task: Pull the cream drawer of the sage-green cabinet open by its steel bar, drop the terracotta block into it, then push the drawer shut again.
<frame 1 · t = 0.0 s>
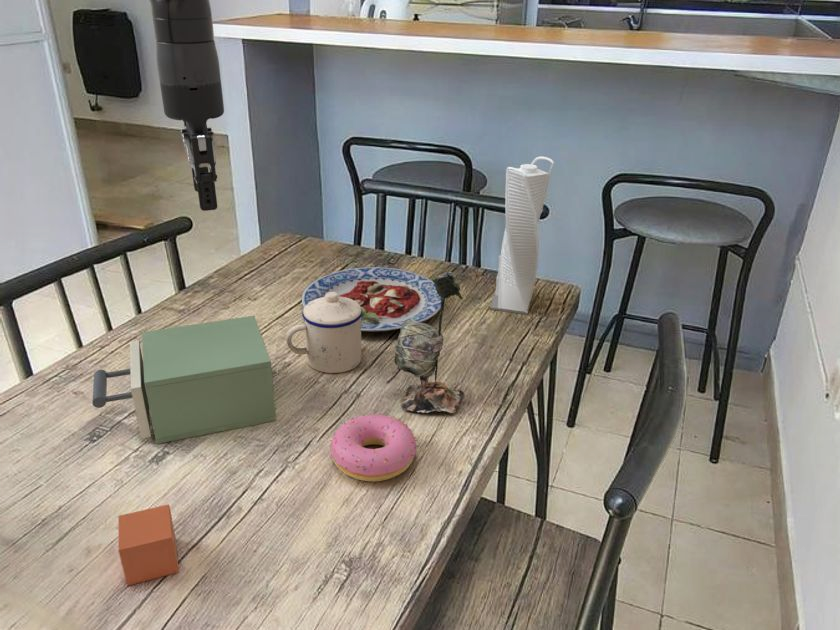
hand: (205, 199, 95), 26 cm above the table, tool pointing down, fingers open, 8 cm apart
ceramic plate: (373, 307, 125), on the table
teacup with lid: (325, 362, 108), on the table
block: (152, 561, 72), on the table
cabinet: (212, 404, 97), on the table
skyscraper: (514, 306, 127), on the table
stone figurine: (425, 401, 99), on the table
doughnut: (373, 459, 87), on the table
drawer: (172, 382, 93), point 5 cm above the table, slide at 0.5 cm
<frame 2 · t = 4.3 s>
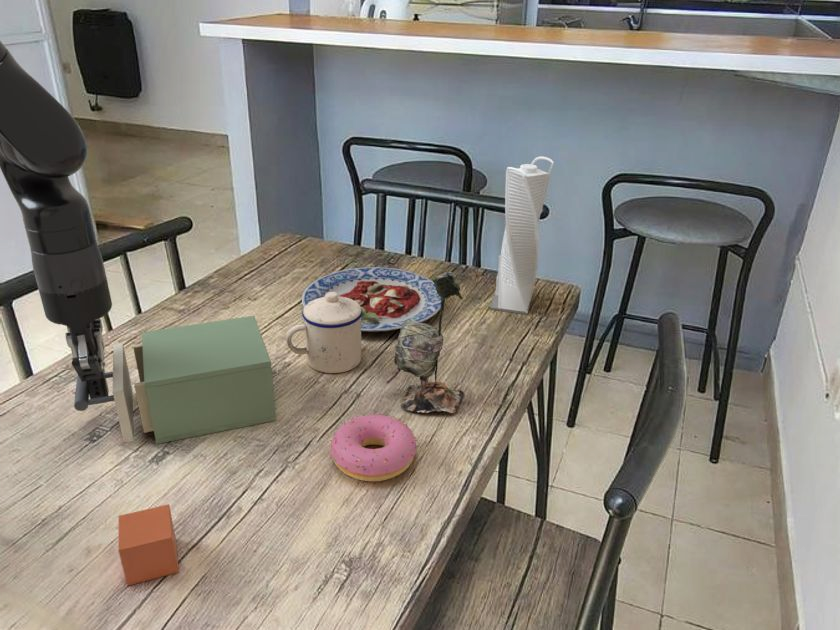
hand: (100, 396, 90), 4 cm above the table, tool pointing down, fingers closed
drawer: (156, 384, 92), point 5 cm above the table, slide at 2.6 cm, touching gripper
everything else where it was.
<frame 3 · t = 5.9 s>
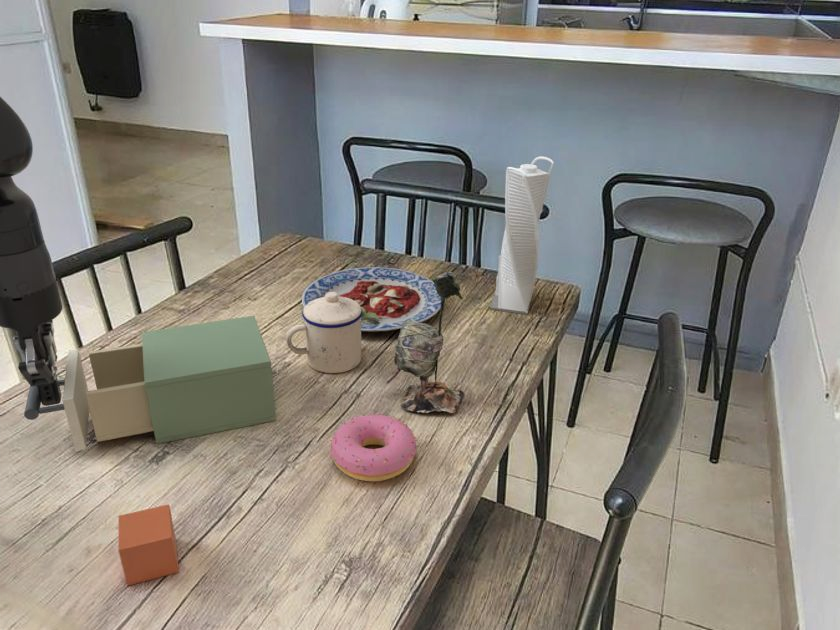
hand: (52, 401, 88), 5 cm above the table, tool pointing down, fingers closed
drawer: (111, 392, 91), point 5 cm above the table, slide at 8.2 cm
everything else where it was.
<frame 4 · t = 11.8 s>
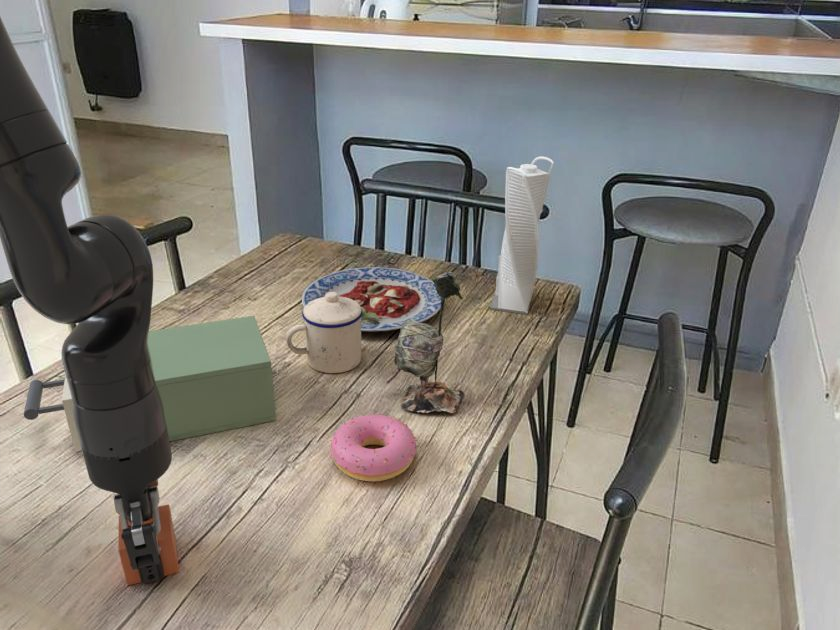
hand: (152, 558, 72), 0 cm above the table, tool pointing down, fingers closed on block, 5 cm apart
block: (152, 561, 72), on the table, touching gripper
everything else where it was.
when the fingers open (7 cm above the table, at t = 18.6 s): block drops 5 cm, resting on drawer.
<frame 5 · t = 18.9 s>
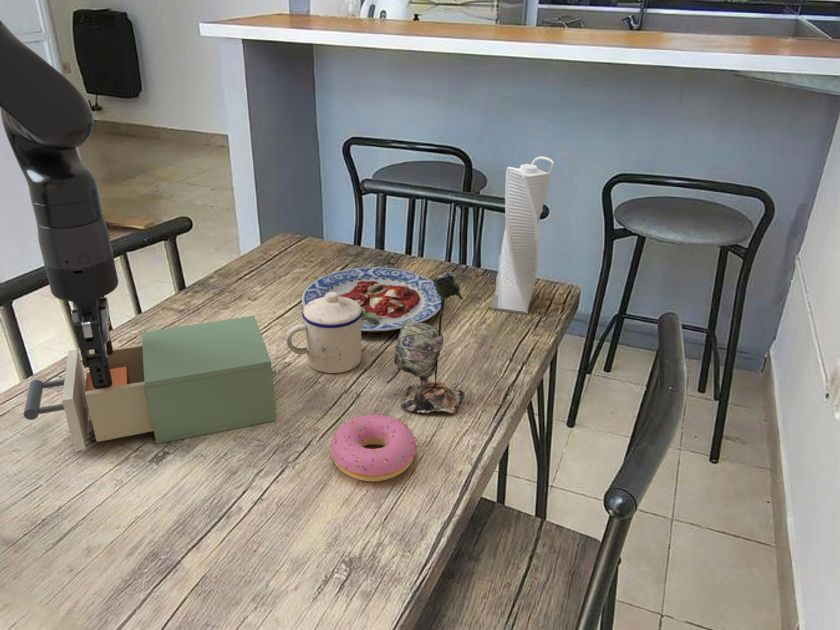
hand: (104, 370, 89), 8 cm above the table, tool pointing down, fingers open, 7 cm apart
block: (113, 410, 92), point 2 cm above the table, touching drawer
drawer: (111, 392, 91), point 5 cm above the table, slide at 8.3 cm, touching block
everything else where it was.
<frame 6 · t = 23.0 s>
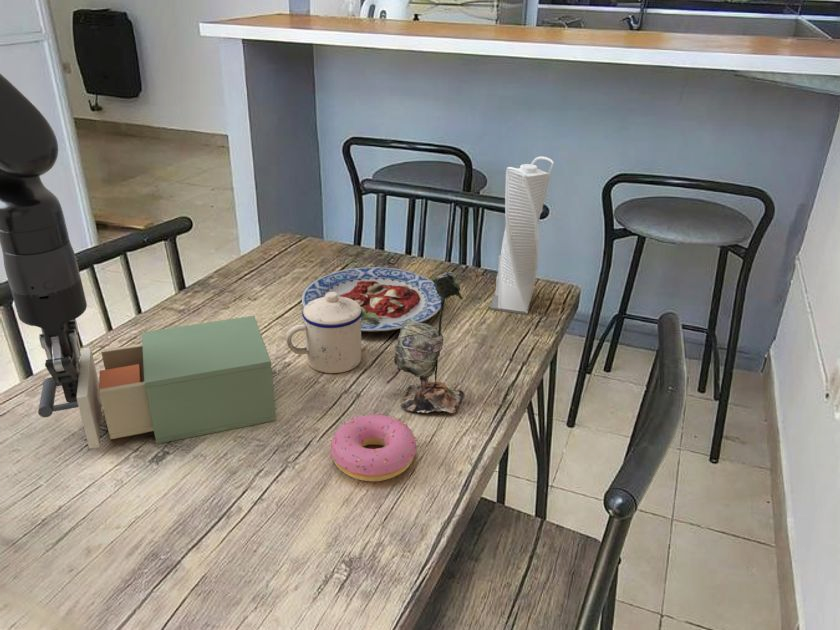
hand: (76, 398, 89), 5 cm above the table, tool pointing down, fingers closed
block: (126, 407, 92), point 2 cm above the table, touching drawer
drawer: (124, 390, 91), point 5 cm above the table, slide at 6.7 cm, touching block, gripper
everything else where it was.
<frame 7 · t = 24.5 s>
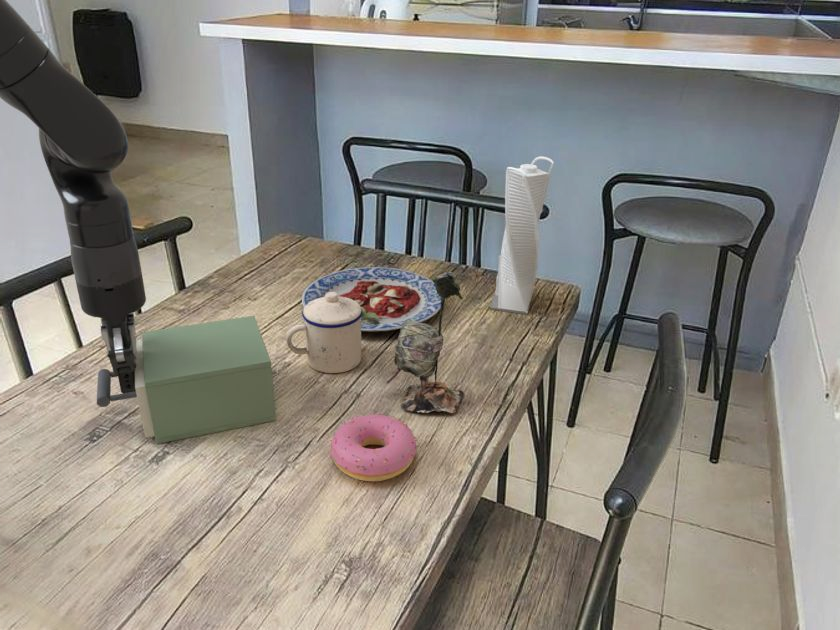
hand: (130, 389, 91), 5 cm above the table, tool pointing down, fingers closed
block: (178, 398, 94), point 2 cm above the table, touching drawer
drawer: (176, 381, 93), point 5 cm above the table, slide at 0.0 cm, touching block, cabinet, gripper
everything else where it was.
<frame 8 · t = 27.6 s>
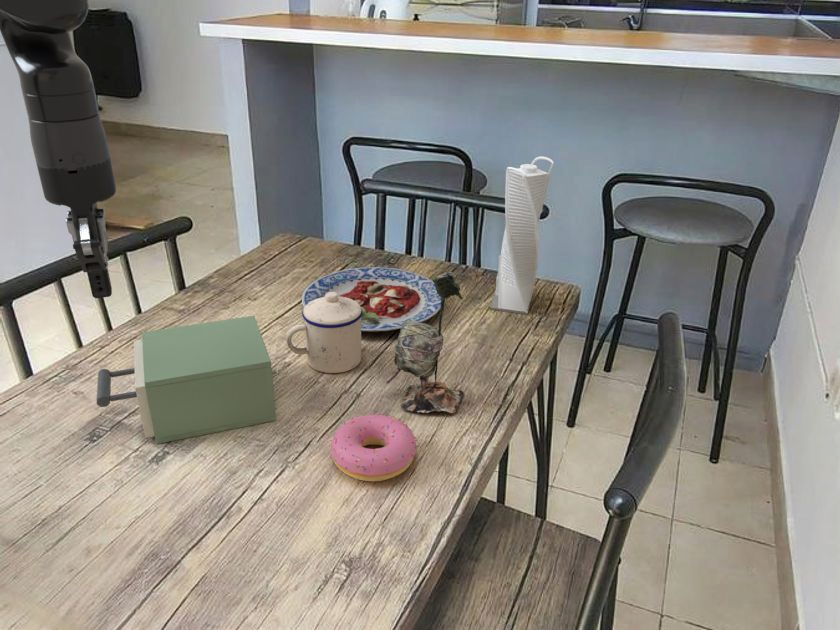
hand: (102, 295, 84), 19 cm above the table, tool pointing down, fingers closed
drawer: (176, 381, 93), point 5 cm above the table, slide at 0.0 cm, touching block, cabinet
everything else where it was.
at the end: drawer pulled out 8.3 cm at the most during the clip, back to where it started at the end; block inside the target area in the cabinet (4.4 cm from its centre), point 2.0 cm above the cabinet's base; drawer slide at 0.0 cm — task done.
